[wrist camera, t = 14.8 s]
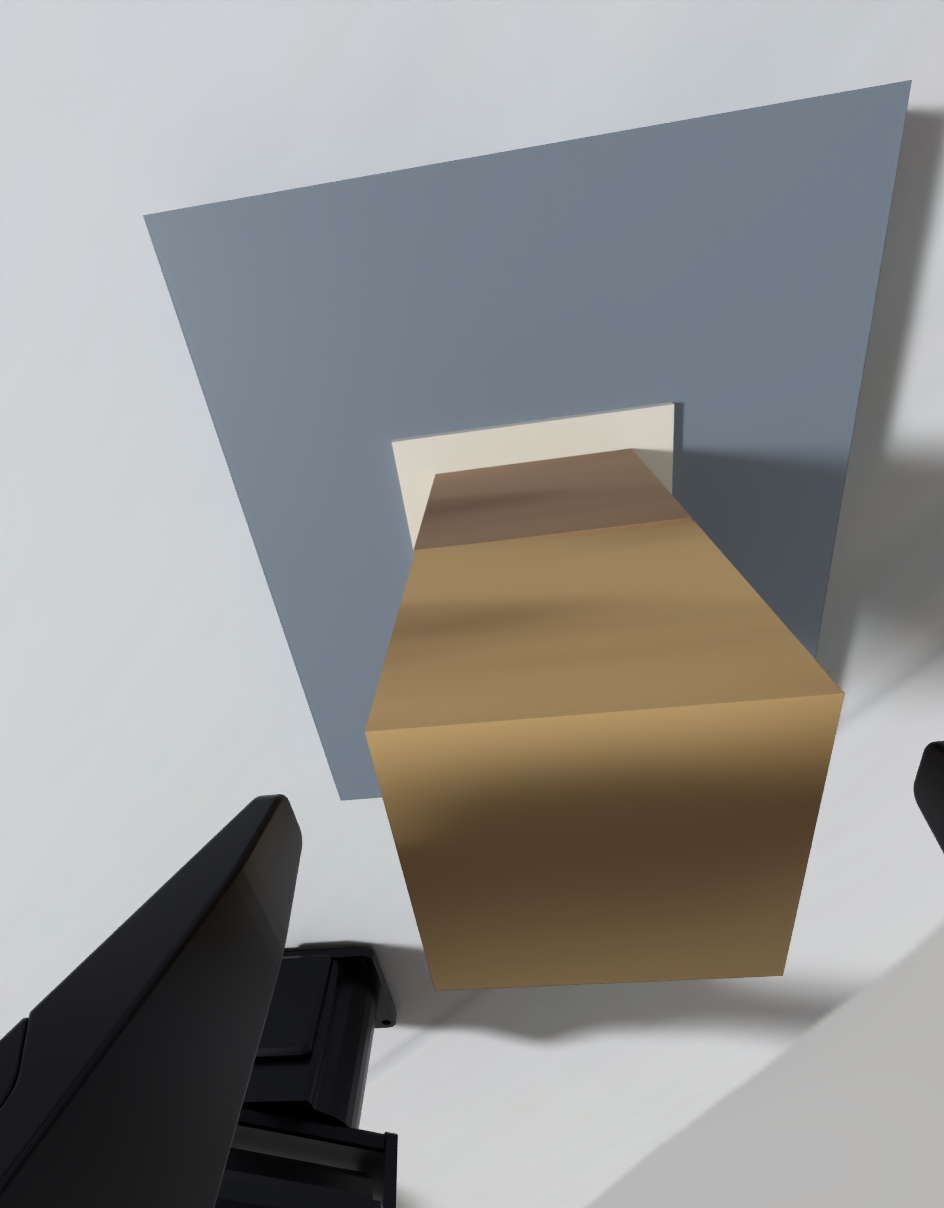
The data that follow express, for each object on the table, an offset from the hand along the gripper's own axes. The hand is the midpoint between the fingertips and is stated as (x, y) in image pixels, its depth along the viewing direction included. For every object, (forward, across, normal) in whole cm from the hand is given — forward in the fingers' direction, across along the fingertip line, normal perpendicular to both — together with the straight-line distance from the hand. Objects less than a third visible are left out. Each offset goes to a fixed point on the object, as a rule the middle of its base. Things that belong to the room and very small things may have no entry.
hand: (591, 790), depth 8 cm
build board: (+11, 0, 0) cm, 11 cm away
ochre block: (+4, 0, 0) cm, 4 cm away
